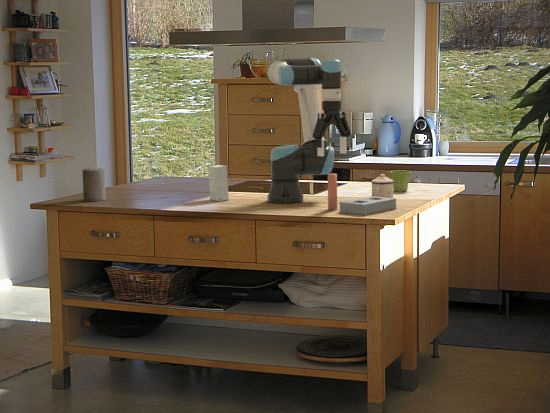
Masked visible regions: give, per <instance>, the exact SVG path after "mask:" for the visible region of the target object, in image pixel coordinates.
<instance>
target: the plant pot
mask: <svg viewBox="0 0 550 413" xmlns="http://www.w3.org/2000/svg"><path fill="white" fill-rule="evenodd" d="M389 173H390V176H391V180H393V182H394V183H393V192H402V193H403V192H407V191H408V189H409V188H408V187H409V179H410V176H411V173H412V171H410V170H403V169H402V170H391V171H389Z"/></svg>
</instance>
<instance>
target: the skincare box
mask: <svg viewBox="0 0 550 413" xmlns="http://www.w3.org/2000/svg"><path fill="white" fill-rule="evenodd" d="M207 167H208V168H207V170H208V185H209V200H212V201H215V202H221V201H222V202H223V201H229V200H230V199H229V198H230V197H229V181H228V169H227V167H228V166H227V165H223V164H222V165H221V164H217V165H209V166H207Z"/></svg>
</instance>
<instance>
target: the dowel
mask: <svg viewBox="0 0 550 413" xmlns="http://www.w3.org/2000/svg"><path fill="white" fill-rule="evenodd" d="M327 210H329V211H337V210H338V174H337V173H329V174H327Z"/></svg>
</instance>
